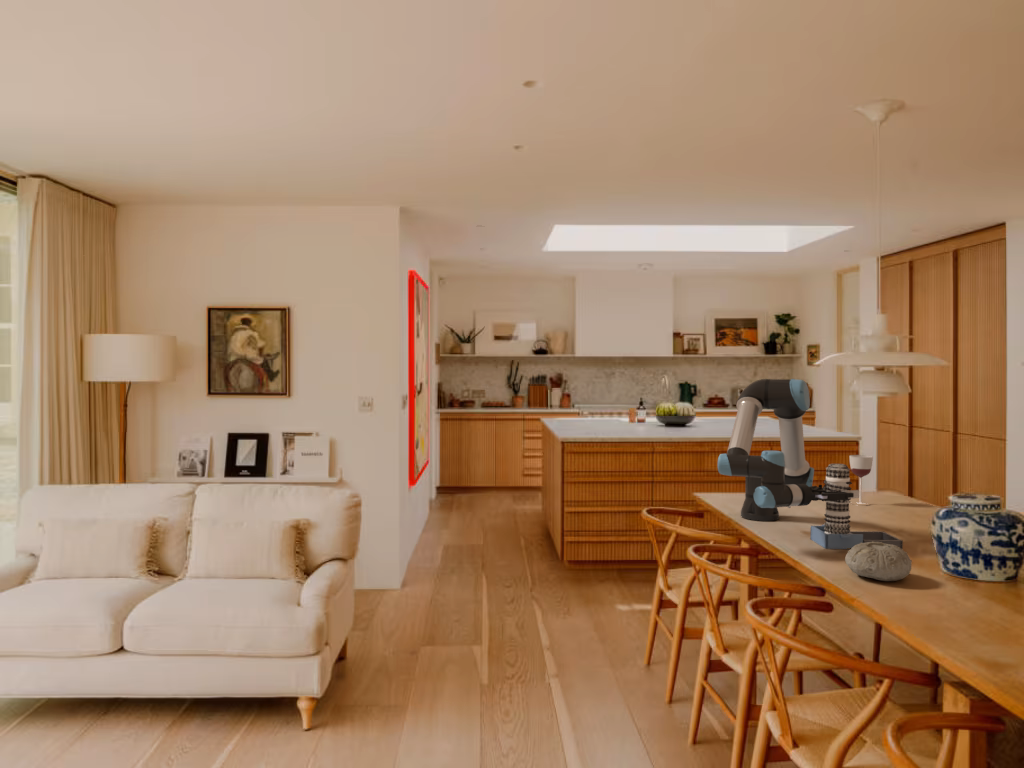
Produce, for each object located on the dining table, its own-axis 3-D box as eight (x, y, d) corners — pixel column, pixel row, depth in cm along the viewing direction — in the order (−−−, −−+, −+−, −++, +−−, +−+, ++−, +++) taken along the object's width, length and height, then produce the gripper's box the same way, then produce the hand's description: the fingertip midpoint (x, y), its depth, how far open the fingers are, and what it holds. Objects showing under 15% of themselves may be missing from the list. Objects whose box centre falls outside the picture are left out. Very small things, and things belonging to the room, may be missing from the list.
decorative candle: (840, 531, 263) (841, 462, 262) (857, 536, 253) (857, 465, 253) (817, 532, 261) (818, 462, 260) (833, 537, 252) (834, 466, 251)
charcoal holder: (862, 549, 251) (863, 540, 250) (845, 539, 264) (845, 531, 264) (902, 549, 250) (902, 540, 250) (883, 539, 264) (883, 531, 264)
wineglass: (849, 501, 336) (849, 454, 336) (872, 503, 332) (872, 455, 332) (848, 504, 329) (849, 456, 328) (872, 506, 324) (872, 457, 324)
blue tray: (827, 550, 249) (828, 535, 249) (808, 537, 267) (808, 524, 266) (865, 550, 249) (865, 536, 248) (843, 538, 266) (843, 524, 266)
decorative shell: (892, 590, 205) (893, 555, 205) (833, 575, 220) (833, 542, 219) (922, 579, 216) (923, 546, 215) (864, 565, 230) (864, 534, 230)
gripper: (775, 500, 261) (825, 497, 269) (818, 511, 241) (871, 507, 248) (775, 479, 261) (826, 476, 268) (818, 489, 241) (872, 486, 248)
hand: (848, 491), depth 258 cm, fingers closed on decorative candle, 9 cm apart
